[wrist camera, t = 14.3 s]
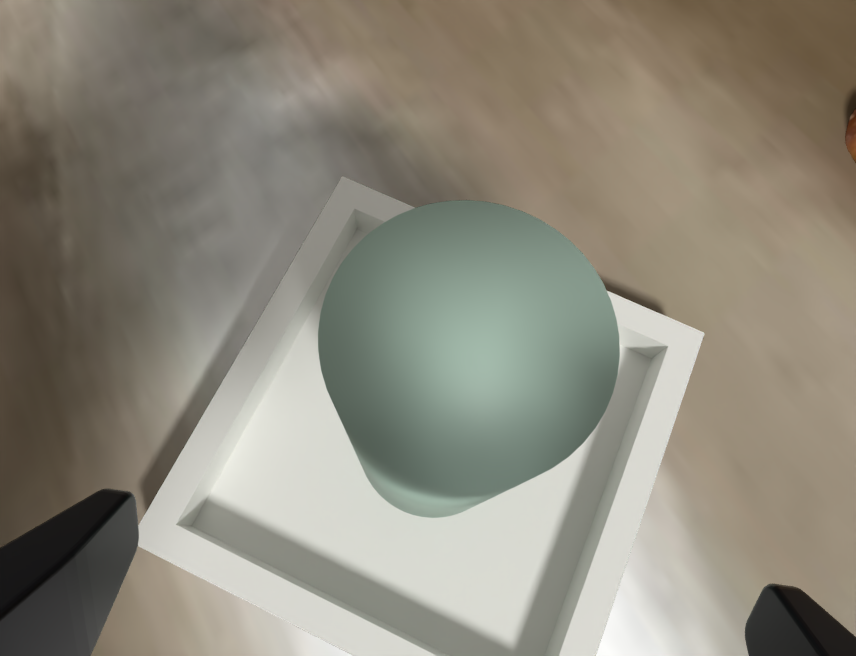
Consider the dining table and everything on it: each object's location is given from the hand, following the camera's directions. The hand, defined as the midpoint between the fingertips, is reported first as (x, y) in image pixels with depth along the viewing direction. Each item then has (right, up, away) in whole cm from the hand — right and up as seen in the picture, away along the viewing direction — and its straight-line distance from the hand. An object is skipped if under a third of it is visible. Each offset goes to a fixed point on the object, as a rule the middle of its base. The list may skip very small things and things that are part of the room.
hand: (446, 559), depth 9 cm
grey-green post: (0, -1, +13) cm, 13 cm away
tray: (0, -1, +14) cm, 14 cm away
